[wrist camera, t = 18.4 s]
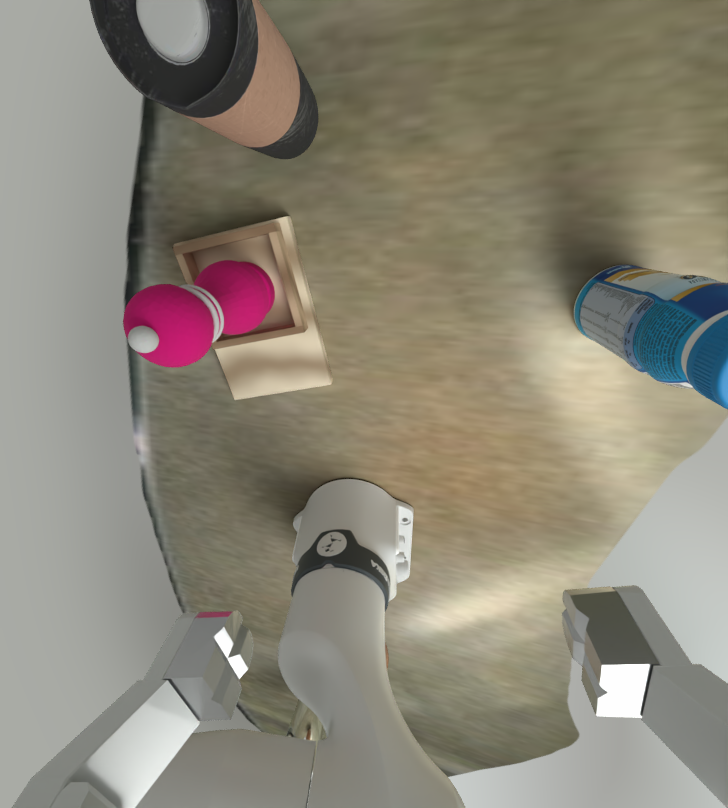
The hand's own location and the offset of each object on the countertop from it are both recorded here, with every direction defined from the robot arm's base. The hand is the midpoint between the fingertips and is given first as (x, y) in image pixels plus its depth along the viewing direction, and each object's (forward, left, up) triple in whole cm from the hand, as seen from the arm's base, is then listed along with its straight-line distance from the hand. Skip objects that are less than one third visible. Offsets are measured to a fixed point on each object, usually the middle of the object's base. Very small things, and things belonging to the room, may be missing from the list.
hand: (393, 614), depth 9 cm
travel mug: (+20, +8, -37) cm, 43 cm away
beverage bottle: (-4, -23, -37) cm, 44 cm away
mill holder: (+2, +16, -37) cm, 40 cm away
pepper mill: (+5, +16, -36) cm, 40 cm away
